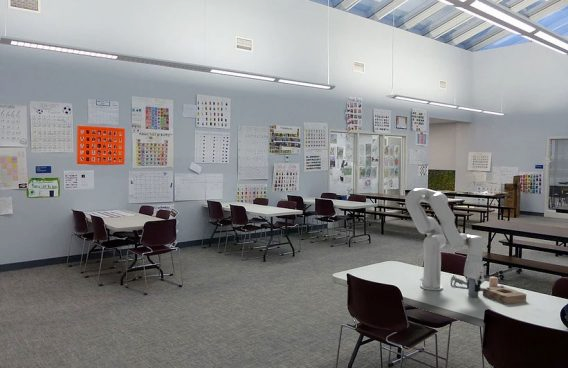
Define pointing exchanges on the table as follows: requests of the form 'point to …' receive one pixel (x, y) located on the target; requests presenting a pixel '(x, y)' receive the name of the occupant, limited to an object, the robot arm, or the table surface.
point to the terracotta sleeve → (493, 282)
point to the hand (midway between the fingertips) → (473, 289)
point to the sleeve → (472, 288)
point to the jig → (504, 294)
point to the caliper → (460, 281)
